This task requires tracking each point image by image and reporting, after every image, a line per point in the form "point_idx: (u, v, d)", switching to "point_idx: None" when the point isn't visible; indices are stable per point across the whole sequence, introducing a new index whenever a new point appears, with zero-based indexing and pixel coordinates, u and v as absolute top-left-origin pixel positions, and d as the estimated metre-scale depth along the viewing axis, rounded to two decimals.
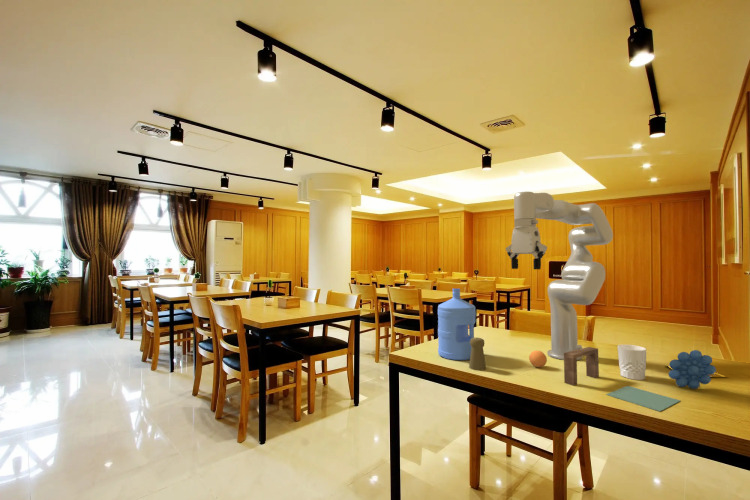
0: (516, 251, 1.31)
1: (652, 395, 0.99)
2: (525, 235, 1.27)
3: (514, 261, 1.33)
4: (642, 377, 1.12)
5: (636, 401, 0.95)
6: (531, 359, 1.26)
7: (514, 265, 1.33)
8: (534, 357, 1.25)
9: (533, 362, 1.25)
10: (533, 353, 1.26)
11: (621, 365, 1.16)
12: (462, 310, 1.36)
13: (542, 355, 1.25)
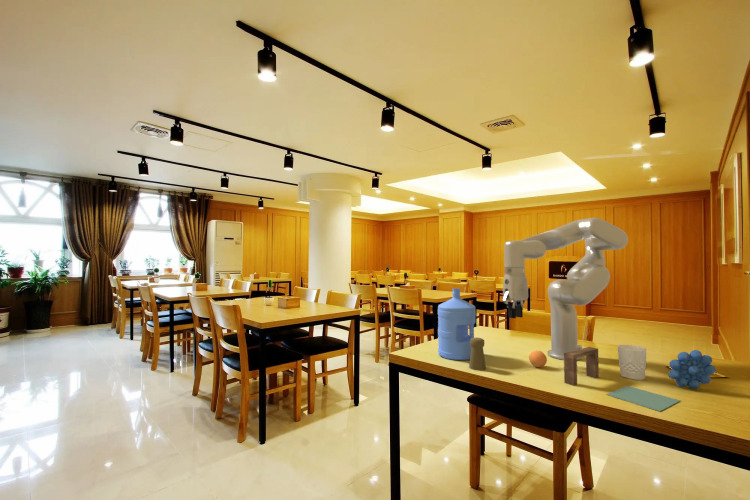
0: None
1: (652, 395, 0.99)
2: None
3: (516, 309, 1.37)
4: (642, 377, 1.12)
5: (636, 401, 0.95)
6: (531, 359, 1.26)
7: (516, 313, 1.37)
8: (534, 357, 1.25)
9: (533, 362, 1.25)
10: (533, 353, 1.26)
11: (621, 365, 1.16)
12: (462, 310, 1.36)
13: (542, 355, 1.25)
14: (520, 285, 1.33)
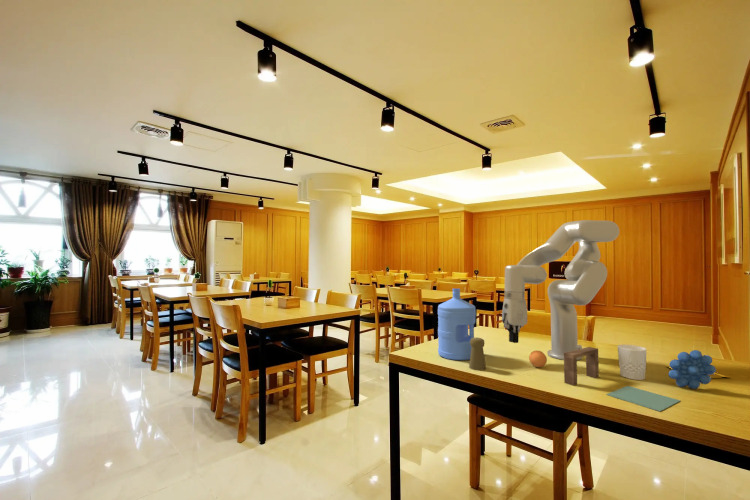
0: None
1: (652, 395, 0.99)
2: None
3: None
4: (642, 377, 1.12)
5: (636, 401, 0.95)
6: (531, 359, 1.26)
7: None
8: (534, 357, 1.25)
9: (533, 362, 1.25)
10: (533, 353, 1.26)
11: (621, 365, 1.16)
12: (462, 310, 1.36)
13: (542, 355, 1.25)
14: (519, 310, 1.33)
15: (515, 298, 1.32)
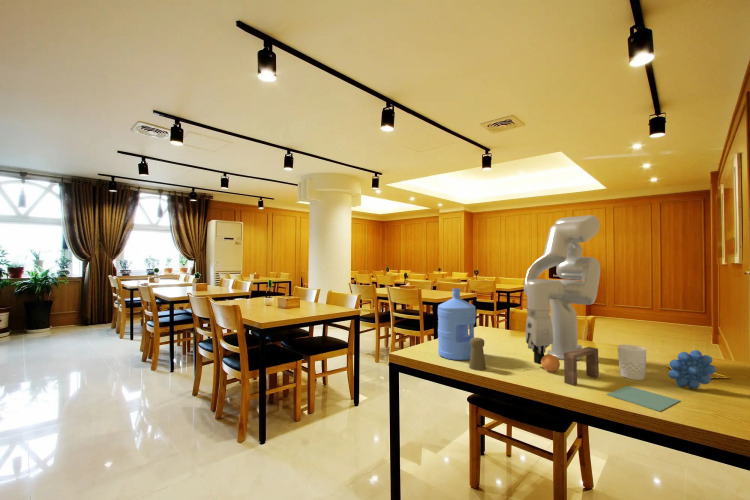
0: None
1: (652, 395, 0.99)
2: None
3: None
4: (642, 377, 1.12)
5: (636, 401, 0.95)
6: (544, 363, 1.21)
7: None
8: (548, 367, 1.20)
9: (542, 364, 1.21)
10: (551, 364, 1.19)
11: (621, 365, 1.16)
12: (462, 310, 1.36)
13: (554, 370, 1.20)
14: (544, 329, 1.24)
15: (539, 317, 1.23)
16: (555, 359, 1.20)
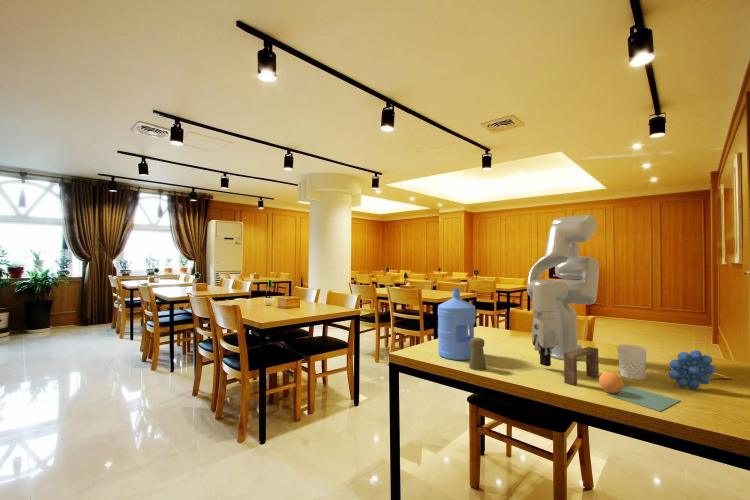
0: None
1: (652, 395, 0.99)
2: None
3: None
4: (642, 377, 1.12)
5: (636, 401, 0.95)
6: (604, 383, 1.01)
7: None
8: (605, 389, 1.01)
9: (601, 381, 1.02)
10: (612, 390, 1.00)
11: (621, 365, 1.16)
12: (462, 310, 1.36)
13: None
14: (551, 331, 1.22)
15: (546, 318, 1.21)
16: (620, 387, 0.99)
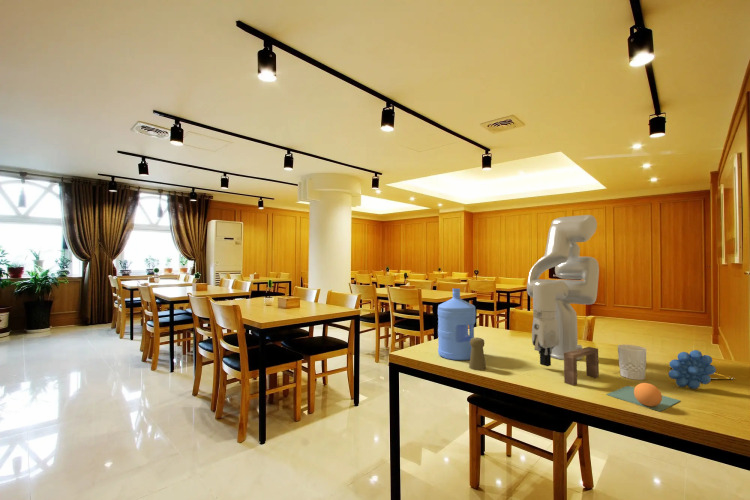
0: None
1: None
2: None
3: None
4: (642, 377, 1.12)
5: (636, 401, 0.95)
6: (640, 396, 0.92)
7: None
8: (642, 390, 0.92)
9: (645, 399, 0.91)
10: (637, 387, 0.94)
11: (621, 365, 1.16)
12: (462, 310, 1.36)
13: (650, 385, 0.92)
14: (551, 331, 1.22)
15: (546, 318, 1.21)
16: None
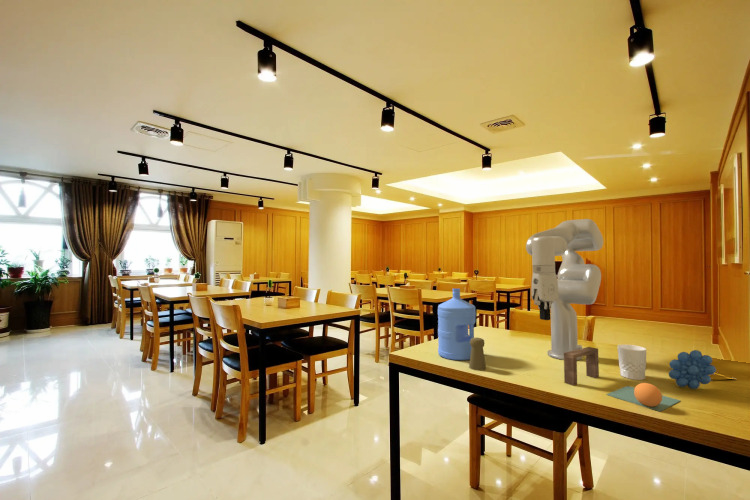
0: None
1: None
2: None
3: None
4: (642, 377, 1.12)
5: (636, 401, 0.95)
6: (640, 396, 0.92)
7: None
8: (642, 390, 0.92)
9: (645, 399, 0.91)
10: (637, 387, 0.93)
11: (621, 365, 1.16)
12: (462, 310, 1.36)
13: (650, 385, 0.92)
14: (550, 285, 1.22)
15: (545, 272, 1.22)
16: None
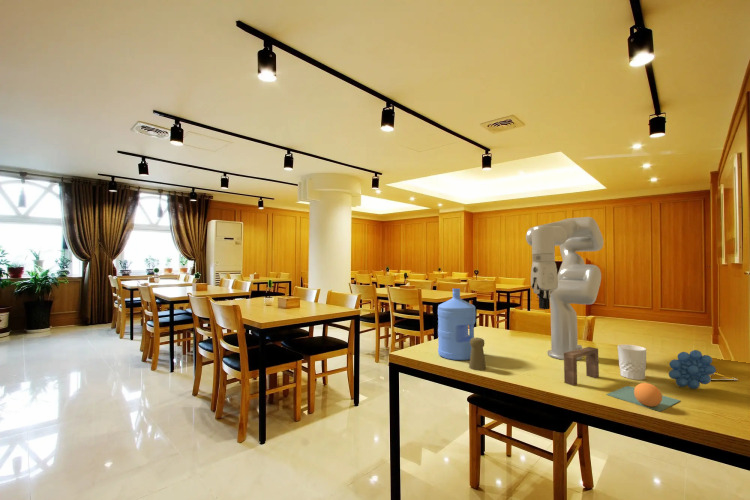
0: None
1: None
2: None
3: None
4: (642, 377, 1.12)
5: (636, 401, 0.95)
6: (640, 396, 0.92)
7: None
8: (642, 390, 0.92)
9: (645, 399, 0.91)
10: (637, 387, 0.93)
11: (621, 365, 1.16)
12: (462, 310, 1.36)
13: (650, 385, 0.92)
14: (550, 273, 1.22)
15: (545, 260, 1.22)
16: None
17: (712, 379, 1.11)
